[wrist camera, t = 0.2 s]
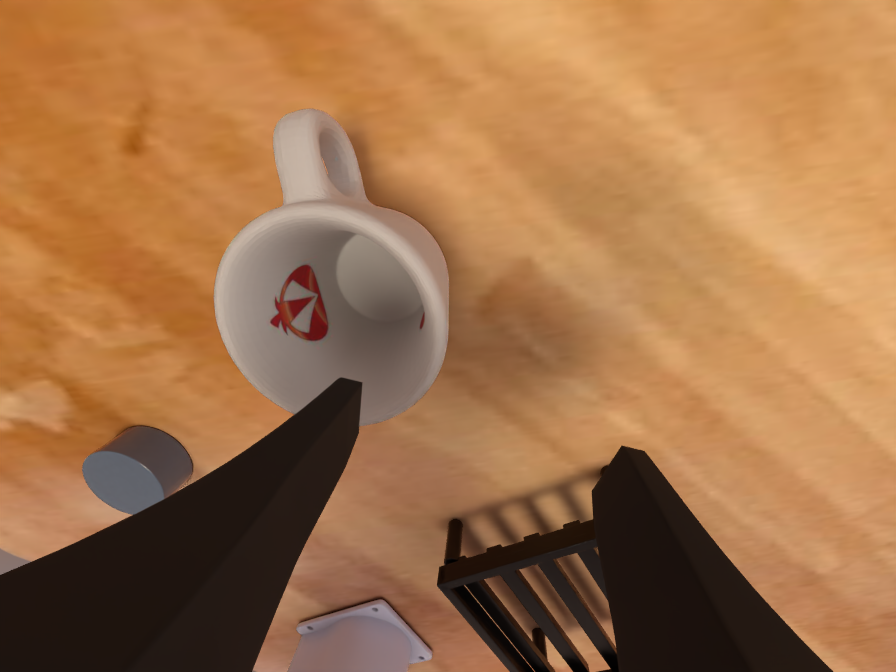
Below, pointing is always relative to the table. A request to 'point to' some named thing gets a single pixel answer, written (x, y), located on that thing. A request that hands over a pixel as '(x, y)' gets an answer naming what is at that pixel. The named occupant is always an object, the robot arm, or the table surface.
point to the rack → (526, 595)
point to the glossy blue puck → (137, 469)
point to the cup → (332, 284)
